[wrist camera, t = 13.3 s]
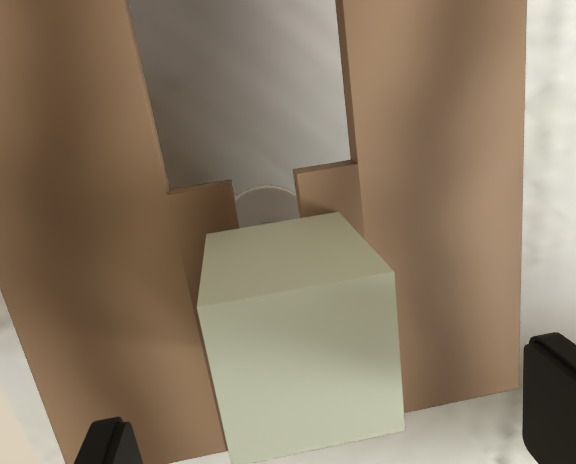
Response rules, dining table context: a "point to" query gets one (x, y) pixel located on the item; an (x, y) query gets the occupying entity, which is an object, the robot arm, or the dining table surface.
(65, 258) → the keyhole shelf
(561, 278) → the dining table surface
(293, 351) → the peg
